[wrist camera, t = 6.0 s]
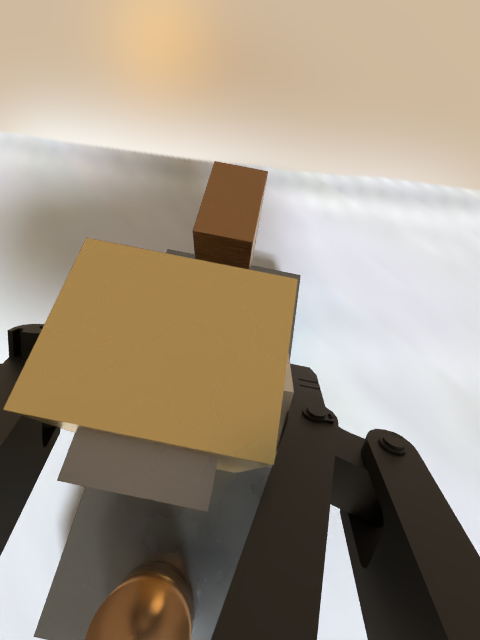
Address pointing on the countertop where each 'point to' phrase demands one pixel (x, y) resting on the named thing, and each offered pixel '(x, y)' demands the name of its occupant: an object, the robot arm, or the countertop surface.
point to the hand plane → (162, 518)
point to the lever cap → (160, 371)
